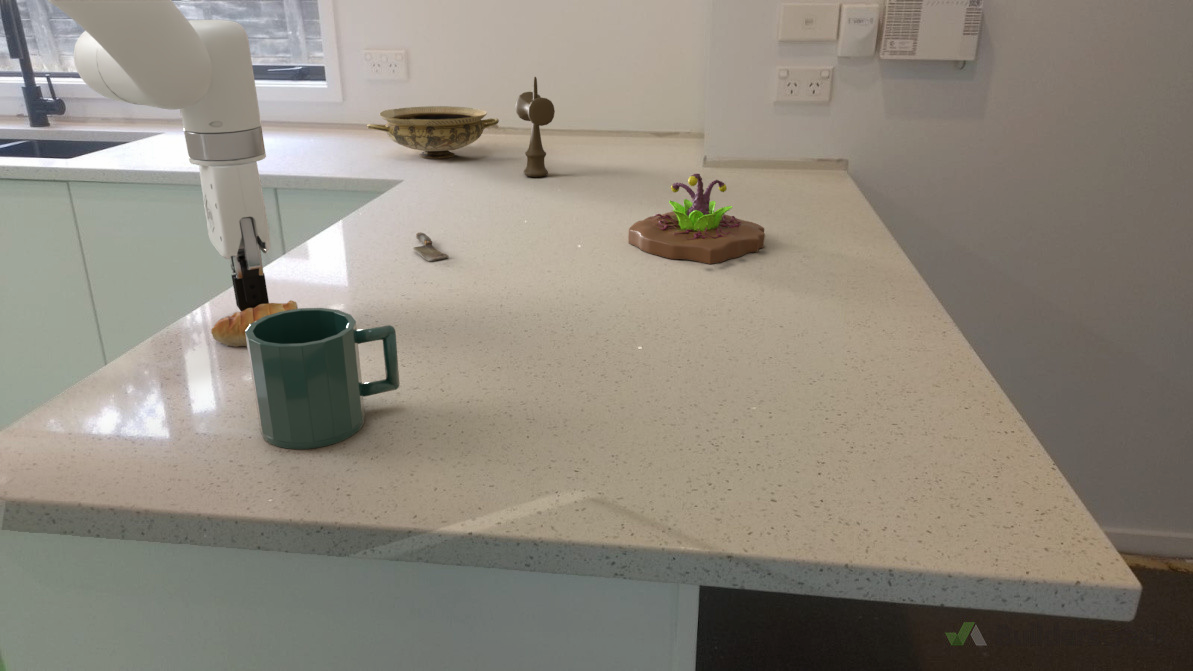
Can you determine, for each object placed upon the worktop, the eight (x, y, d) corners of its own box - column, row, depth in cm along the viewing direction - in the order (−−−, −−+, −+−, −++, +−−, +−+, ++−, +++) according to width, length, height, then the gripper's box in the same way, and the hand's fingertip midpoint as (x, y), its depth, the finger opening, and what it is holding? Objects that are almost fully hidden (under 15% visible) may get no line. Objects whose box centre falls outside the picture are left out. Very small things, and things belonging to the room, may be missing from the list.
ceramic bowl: (488, 144, 209) (486, 103, 205) (512, 162, 189) (511, 116, 185) (364, 149, 200) (360, 106, 196) (375, 169, 179) (371, 121, 175)
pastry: (213, 355, 88) (207, 321, 87) (214, 332, 94) (208, 300, 93) (306, 343, 92) (302, 310, 90) (301, 322, 98) (297, 291, 96)
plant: (606, 245, 129) (608, 172, 125) (672, 220, 144) (675, 154, 139) (722, 270, 118) (728, 192, 114) (780, 241, 133) (787, 170, 129)
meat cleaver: (413, 264, 119) (449, 263, 120) (413, 256, 119) (449, 255, 120) (411, 238, 129) (444, 238, 131) (411, 231, 129) (444, 230, 130)
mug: (271, 458, 69) (255, 353, 66) (253, 414, 77) (238, 317, 73) (416, 425, 75) (409, 327, 72) (387, 387, 82) (379, 296, 79)
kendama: (542, 170, 181) (542, 73, 173) (556, 179, 172) (556, 78, 165) (515, 172, 179) (514, 74, 171) (528, 181, 170) (527, 79, 163)
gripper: (176, 137, 92) (206, 293, 99) (200, 161, 81) (232, 336, 88) (247, 131, 96) (271, 282, 103) (280, 153, 84) (304, 322, 92)
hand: (253, 307), depth 96 cm, fingers closed
